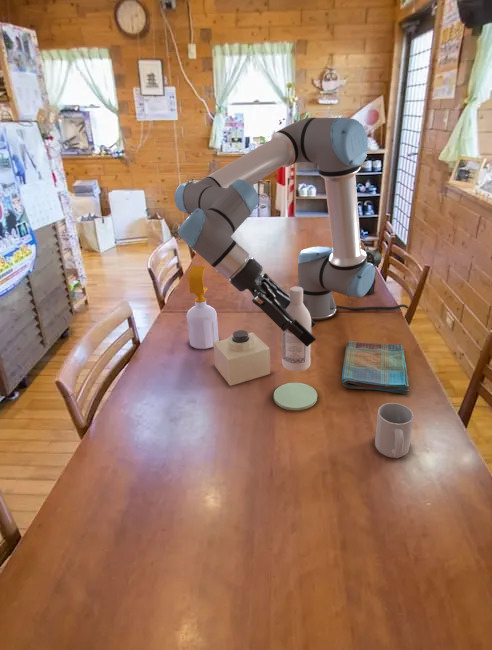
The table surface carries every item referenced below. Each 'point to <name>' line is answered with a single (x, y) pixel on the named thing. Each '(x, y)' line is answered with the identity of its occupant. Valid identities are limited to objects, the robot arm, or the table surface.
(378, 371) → the dish towel
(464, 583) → the table surface
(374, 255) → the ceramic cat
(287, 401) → the mat
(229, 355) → the push button box
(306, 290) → the robot arm
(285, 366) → the bath foam
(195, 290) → the spray bottle
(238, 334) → the push button
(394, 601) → the table surface
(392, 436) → the cup
